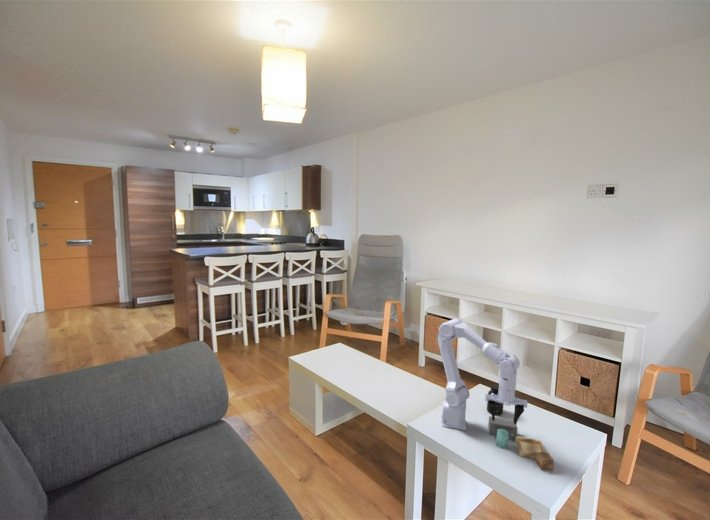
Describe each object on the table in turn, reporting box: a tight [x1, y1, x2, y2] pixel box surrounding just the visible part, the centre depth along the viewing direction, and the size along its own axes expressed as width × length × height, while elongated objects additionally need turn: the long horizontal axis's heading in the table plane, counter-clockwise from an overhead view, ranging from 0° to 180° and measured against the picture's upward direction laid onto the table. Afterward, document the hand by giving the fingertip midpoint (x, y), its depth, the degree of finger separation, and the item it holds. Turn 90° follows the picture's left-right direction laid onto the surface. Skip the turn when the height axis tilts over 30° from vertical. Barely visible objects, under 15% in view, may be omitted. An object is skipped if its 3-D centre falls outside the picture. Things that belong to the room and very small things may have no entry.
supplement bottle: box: [486, 383, 505, 417], centre depth 158 cm, size 7×7×12 cm
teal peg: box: [495, 429, 509, 449], centre depth 136 cm, size 4×4×6 cm
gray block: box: [487, 415, 518, 440], centre depth 143 cm, size 10×5×5 cm, turn 75°
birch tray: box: [514, 435, 547, 460], centre depth 133 cm, size 9×9×2 cm
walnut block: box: [535, 451, 555, 471], centre depth 125 cm, size 4×4×4 cm
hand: (503, 421), depth 135 cm, fingers open, 7 cm apart
